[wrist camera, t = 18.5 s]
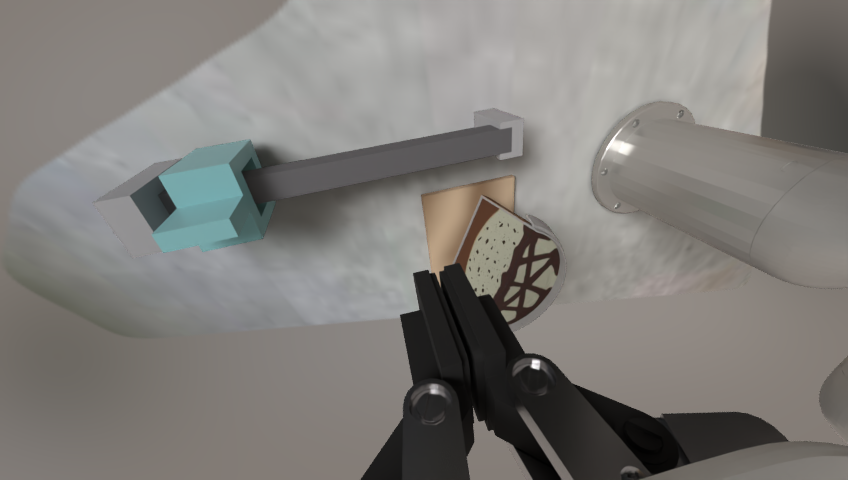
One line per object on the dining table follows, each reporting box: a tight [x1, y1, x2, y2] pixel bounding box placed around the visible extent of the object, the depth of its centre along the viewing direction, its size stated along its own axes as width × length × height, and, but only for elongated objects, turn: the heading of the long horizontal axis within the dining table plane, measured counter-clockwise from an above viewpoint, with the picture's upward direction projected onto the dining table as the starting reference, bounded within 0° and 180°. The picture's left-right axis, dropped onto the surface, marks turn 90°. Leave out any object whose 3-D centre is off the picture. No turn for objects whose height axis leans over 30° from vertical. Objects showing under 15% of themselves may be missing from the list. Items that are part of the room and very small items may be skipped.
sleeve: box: [151, 139, 276, 253], centre depth 22 cm, size 4×6×10 cm
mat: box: [421, 175, 515, 287], centre depth 36 cm, size 10×13×1 cm
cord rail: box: [92, 108, 524, 258], centre depth 25 cm, size 29×4×8 cm, turn 98°
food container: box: [453, 195, 566, 332], centre depth 32 cm, size 12×6×10 cm, turn 162°
